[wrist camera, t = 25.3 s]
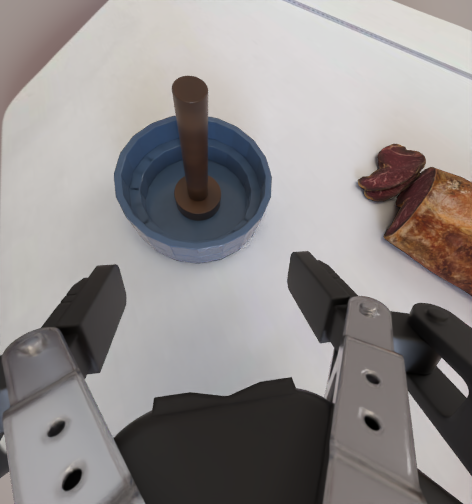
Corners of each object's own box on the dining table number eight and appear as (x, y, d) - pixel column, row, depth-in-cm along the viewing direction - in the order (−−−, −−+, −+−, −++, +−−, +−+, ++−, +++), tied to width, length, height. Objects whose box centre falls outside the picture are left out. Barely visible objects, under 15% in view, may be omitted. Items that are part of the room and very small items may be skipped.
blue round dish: (200, 292, 27) (198, 283, 21) (104, 203, 29) (78, 173, 23) (283, 203, 32) (300, 176, 26) (196, 131, 34) (194, 92, 28)
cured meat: (377, 138, 37) (413, 99, 31) (519, 217, 36) (588, 194, 29) (335, 222, 32) (367, 197, 25) (501, 321, 30) (581, 320, 24)
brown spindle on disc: (199, 229, 29) (190, 136, 14) (166, 200, 29) (127, 84, 15) (229, 200, 30) (248, 92, 16) (197, 174, 31) (189, 47, 17)
